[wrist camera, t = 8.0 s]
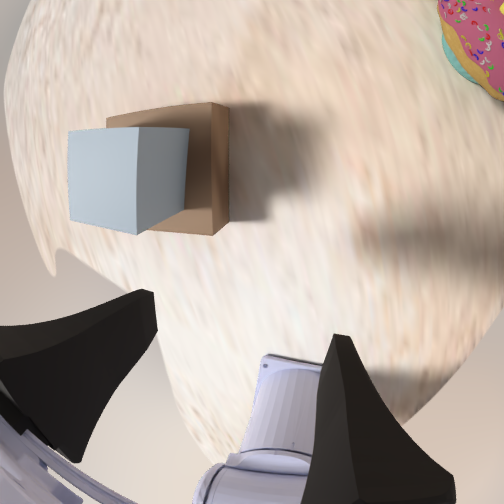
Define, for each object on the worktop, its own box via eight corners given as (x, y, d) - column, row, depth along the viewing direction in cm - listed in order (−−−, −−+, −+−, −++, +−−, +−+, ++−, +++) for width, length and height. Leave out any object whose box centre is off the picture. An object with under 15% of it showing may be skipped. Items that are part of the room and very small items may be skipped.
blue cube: (183, 209, 17) (136, 235, 13) (121, 200, 18) (70, 220, 13) (189, 128, 15) (139, 126, 11) (123, 128, 16) (68, 131, 12)
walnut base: (230, 220, 20) (212, 235, 17) (139, 214, 22) (113, 227, 19) (230, 108, 17) (211, 102, 14) (135, 118, 19) (106, 117, 16)
